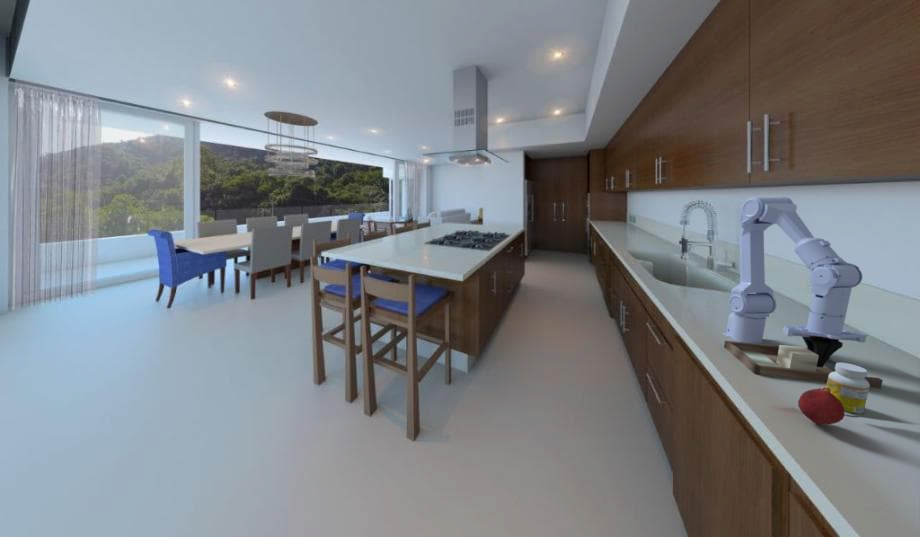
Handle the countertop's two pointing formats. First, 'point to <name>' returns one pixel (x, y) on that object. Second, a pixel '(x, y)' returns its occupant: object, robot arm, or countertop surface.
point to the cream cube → (797, 358)
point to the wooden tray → (764, 363)
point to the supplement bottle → (849, 387)
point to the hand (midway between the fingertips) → (816, 365)
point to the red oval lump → (821, 406)
